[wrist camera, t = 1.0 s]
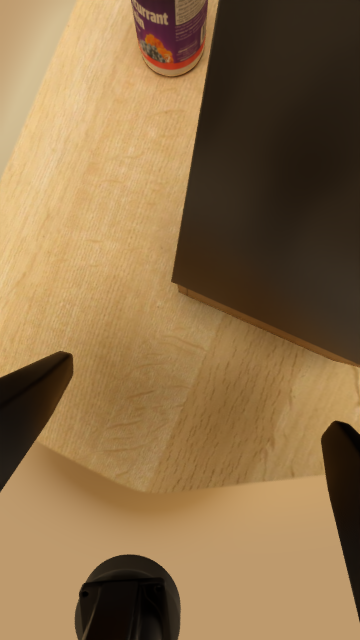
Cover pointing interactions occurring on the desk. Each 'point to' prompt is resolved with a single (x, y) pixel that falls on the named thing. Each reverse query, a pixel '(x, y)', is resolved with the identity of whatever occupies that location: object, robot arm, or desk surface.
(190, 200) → the lid
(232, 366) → the desk surface
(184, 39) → the pill bottle
